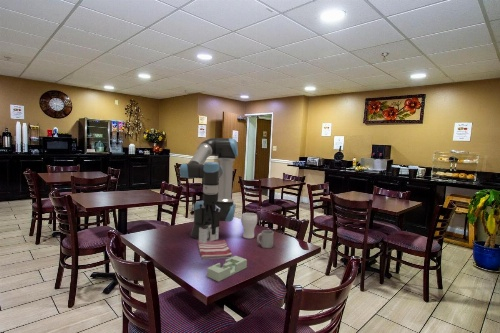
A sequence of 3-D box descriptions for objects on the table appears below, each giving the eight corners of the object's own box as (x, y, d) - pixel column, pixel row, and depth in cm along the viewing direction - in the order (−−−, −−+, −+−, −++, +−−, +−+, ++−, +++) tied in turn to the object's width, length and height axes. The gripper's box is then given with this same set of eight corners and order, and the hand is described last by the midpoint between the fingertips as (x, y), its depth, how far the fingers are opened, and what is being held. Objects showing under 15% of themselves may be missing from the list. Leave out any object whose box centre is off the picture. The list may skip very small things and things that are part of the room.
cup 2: (273, 248, 168) (274, 233, 167) (256, 247, 168) (257, 233, 167) (272, 244, 175) (273, 230, 174) (256, 243, 175) (257, 229, 174)
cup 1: (259, 237, 186) (260, 215, 185) (246, 240, 180) (247, 217, 179) (250, 233, 195) (251, 211, 194) (237, 235, 189) (238, 213, 188)
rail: (218, 281, 124) (218, 272, 124) (206, 276, 129) (207, 267, 129) (246, 267, 140) (246, 259, 140) (235, 263, 145) (235, 255, 144)
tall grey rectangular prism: (203, 243, 136) (204, 229, 136) (198, 241, 138) (199, 227, 138) (218, 238, 144) (218, 225, 144) (213, 237, 146) (214, 224, 146)
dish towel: (225, 243, 175) (225, 239, 174) (232, 258, 152) (233, 253, 152) (197, 244, 170) (197, 240, 170) (201, 260, 148) (201, 255, 147)
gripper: (193, 191, 142) (192, 237, 144) (217, 196, 132) (215, 245, 133) (204, 190, 148) (203, 234, 149) (228, 194, 137) (226, 241, 139)
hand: (209, 239), depth 141 cm, fingers closed on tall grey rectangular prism, 4 cm apart
